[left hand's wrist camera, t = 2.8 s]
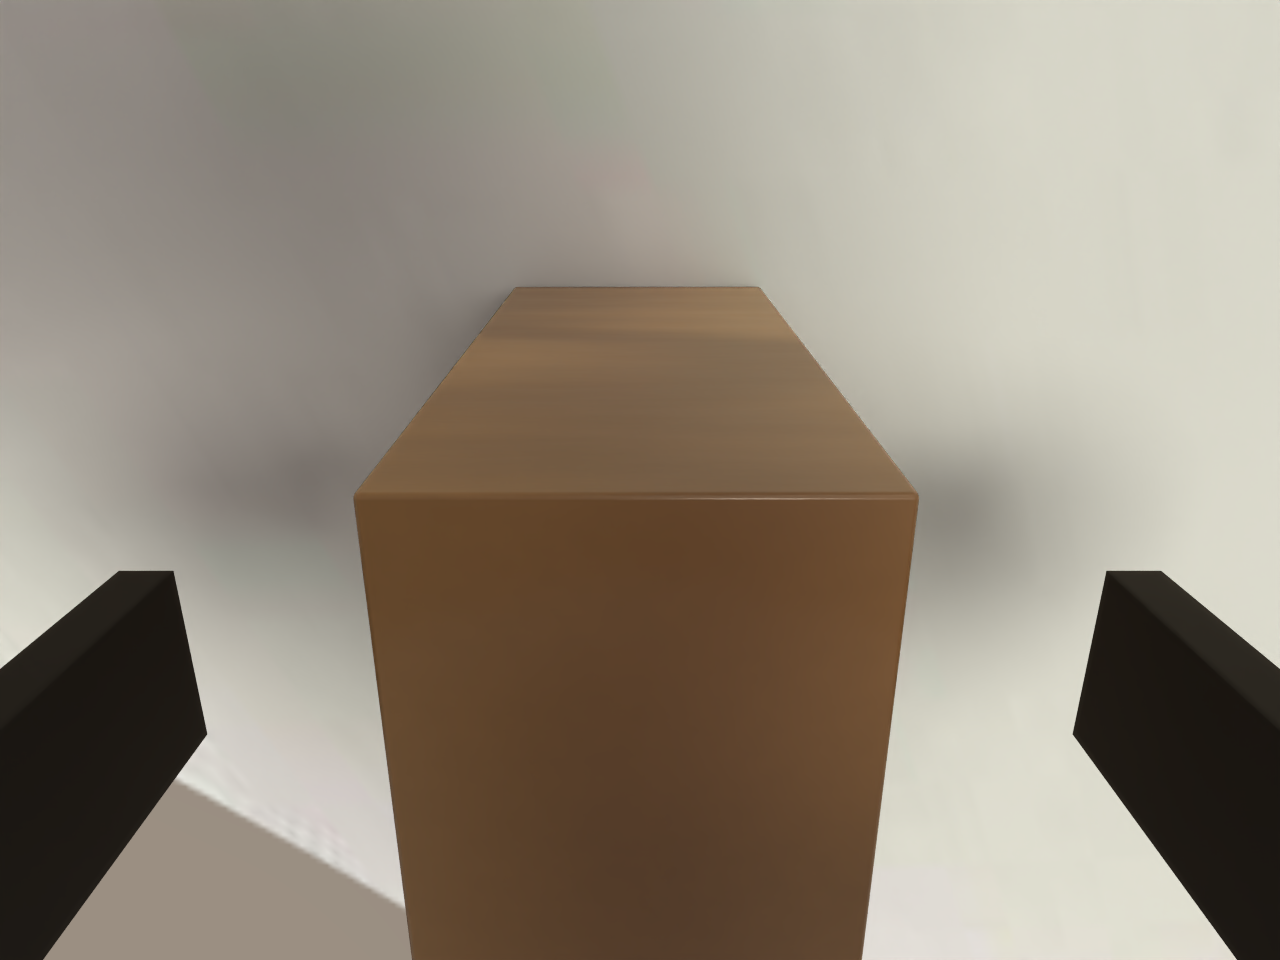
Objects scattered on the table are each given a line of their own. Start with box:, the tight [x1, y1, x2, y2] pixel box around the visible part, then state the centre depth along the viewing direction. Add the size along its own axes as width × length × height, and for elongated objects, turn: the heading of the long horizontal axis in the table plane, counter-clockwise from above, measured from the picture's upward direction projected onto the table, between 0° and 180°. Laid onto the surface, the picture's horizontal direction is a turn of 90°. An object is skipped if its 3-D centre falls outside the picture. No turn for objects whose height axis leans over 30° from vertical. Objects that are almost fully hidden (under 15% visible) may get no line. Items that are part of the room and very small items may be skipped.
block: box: [353, 287, 919, 960], centre depth 14 cm, size 5×8×11 cm, turn 0°
